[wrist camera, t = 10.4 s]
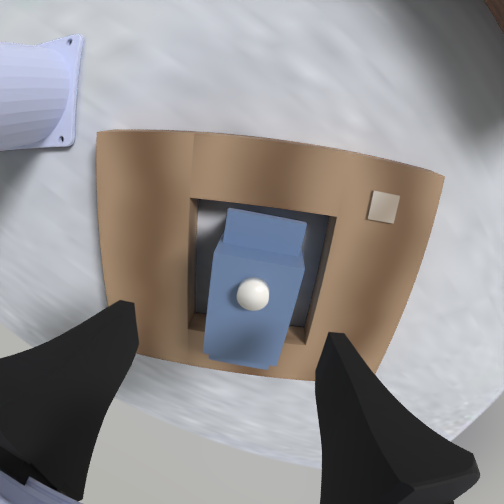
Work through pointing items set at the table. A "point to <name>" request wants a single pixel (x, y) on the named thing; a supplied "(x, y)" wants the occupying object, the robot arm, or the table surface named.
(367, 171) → the plate
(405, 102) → the table surface
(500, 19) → the tissue box cover
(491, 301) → the table surface
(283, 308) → the block
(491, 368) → the table surface
